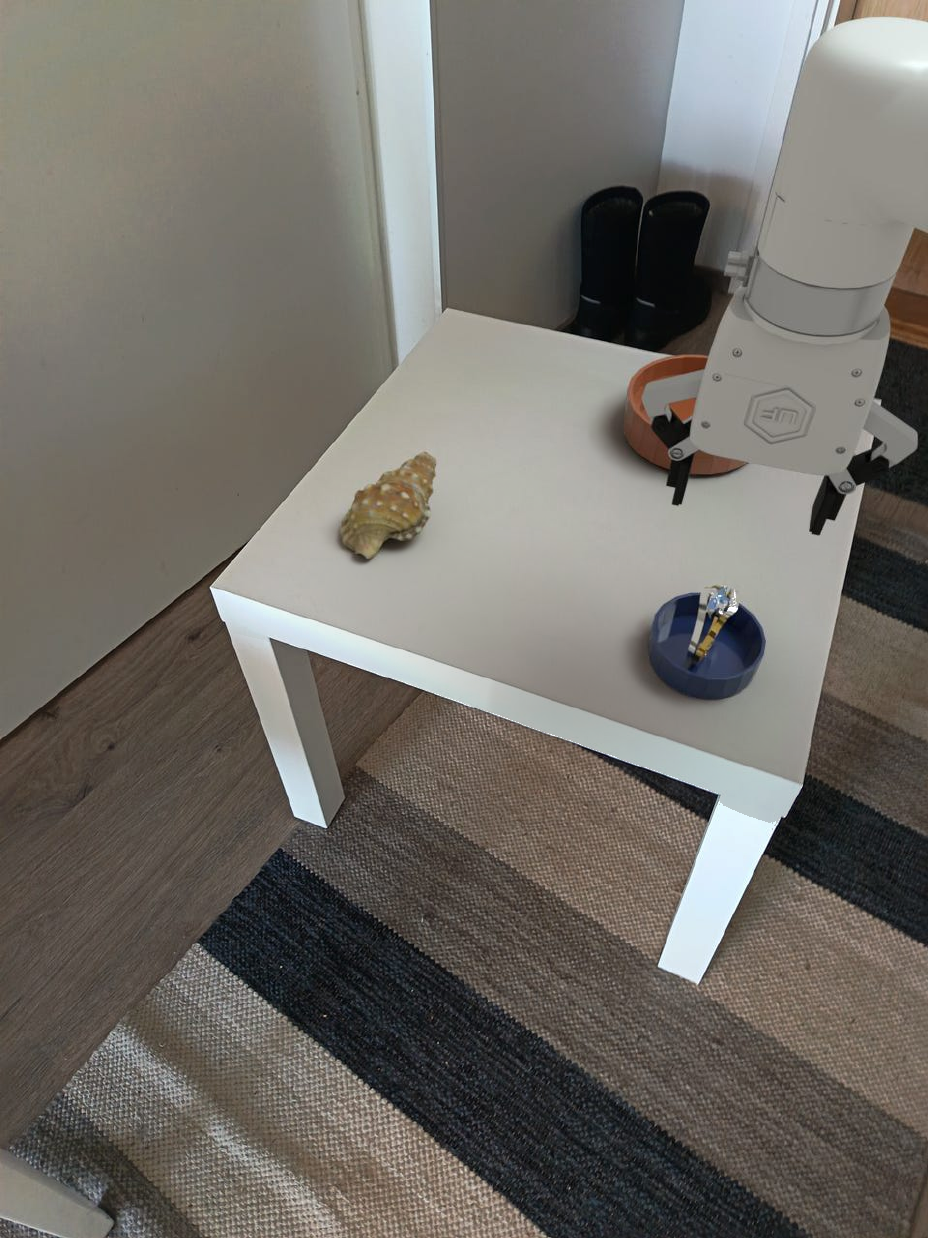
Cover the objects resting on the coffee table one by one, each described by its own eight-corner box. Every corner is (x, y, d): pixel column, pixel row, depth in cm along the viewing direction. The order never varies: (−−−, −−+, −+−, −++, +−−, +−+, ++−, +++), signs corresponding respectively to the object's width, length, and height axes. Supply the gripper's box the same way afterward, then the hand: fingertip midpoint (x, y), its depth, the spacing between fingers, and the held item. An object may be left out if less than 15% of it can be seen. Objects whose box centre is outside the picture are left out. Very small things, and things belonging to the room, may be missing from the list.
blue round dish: (762, 628, 77) (771, 606, 75) (749, 712, 72) (758, 691, 69) (658, 603, 79) (663, 582, 77) (637, 683, 74) (642, 662, 71)
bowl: (768, 405, 97) (780, 367, 94) (751, 491, 88) (763, 453, 85) (637, 382, 101) (643, 344, 97) (609, 462, 92) (614, 424, 88)
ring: (700, 689, 73) (719, 630, 67) (666, 671, 74) (682, 611, 68) (736, 637, 76) (758, 576, 70) (704, 620, 78) (722, 559, 71)
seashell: (363, 520, 92) (389, 432, 87) (431, 551, 90) (460, 463, 86) (323, 544, 83) (349, 448, 79) (397, 578, 82) (428, 483, 78)
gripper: (652, 295, 48) (616, 516, 62) (984, 347, 44) (870, 571, 58) (676, 232, 53) (638, 451, 66) (979, 275, 49) (874, 498, 62)
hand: (746, 507), depth 62 cm, fingers open, 9 cm apart
